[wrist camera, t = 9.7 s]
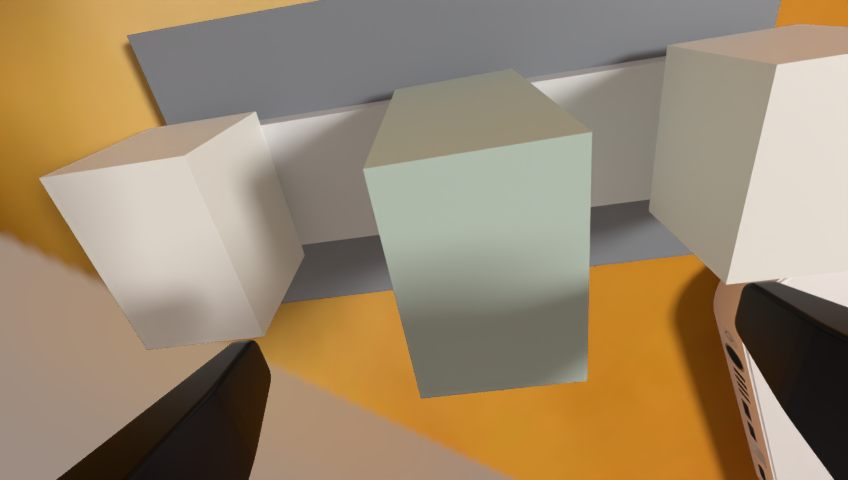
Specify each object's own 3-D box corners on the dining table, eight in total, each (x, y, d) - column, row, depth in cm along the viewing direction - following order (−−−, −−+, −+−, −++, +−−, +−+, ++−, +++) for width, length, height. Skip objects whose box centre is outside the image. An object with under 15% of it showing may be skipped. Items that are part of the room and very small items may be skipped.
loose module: (512, 68, 14) (592, 132, 7) (523, 225, 17) (587, 380, 10) (395, 89, 15) (362, 169, 8) (424, 240, 17) (421, 398, 10)
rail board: (776, -82, 14) (1054, -150, 8) (712, 239, 19) (840, 347, 13) (143, 33, 16) (-41, 53, 10) (255, 294, 21) (185, 411, 15)
